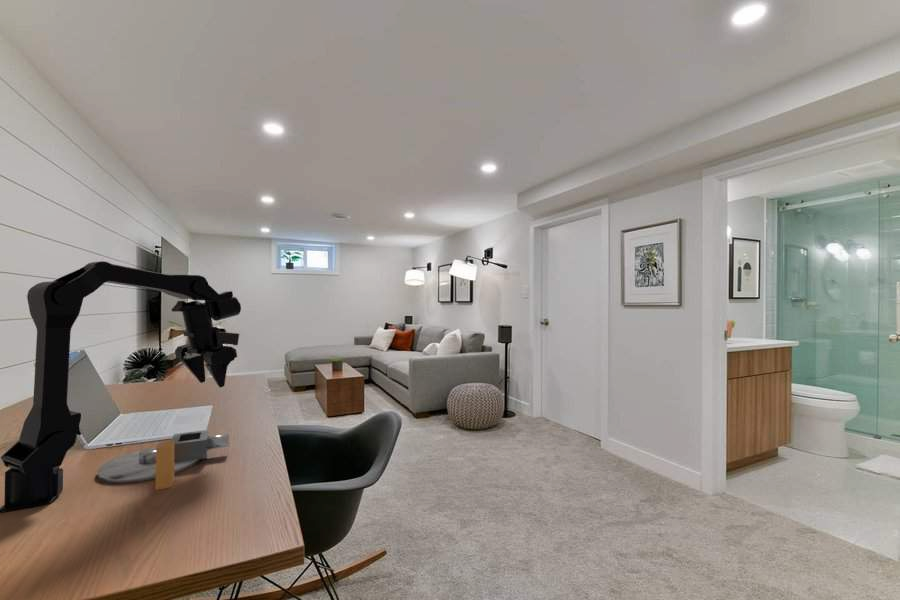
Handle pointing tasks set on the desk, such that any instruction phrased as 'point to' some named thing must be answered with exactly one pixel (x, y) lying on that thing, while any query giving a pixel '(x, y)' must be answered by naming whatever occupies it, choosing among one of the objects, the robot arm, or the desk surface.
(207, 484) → the desk surface
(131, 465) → the rosette bracket
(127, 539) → the desk surface
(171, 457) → the yellow orange block
